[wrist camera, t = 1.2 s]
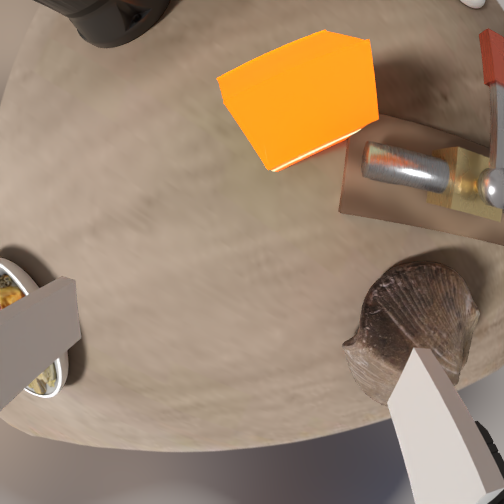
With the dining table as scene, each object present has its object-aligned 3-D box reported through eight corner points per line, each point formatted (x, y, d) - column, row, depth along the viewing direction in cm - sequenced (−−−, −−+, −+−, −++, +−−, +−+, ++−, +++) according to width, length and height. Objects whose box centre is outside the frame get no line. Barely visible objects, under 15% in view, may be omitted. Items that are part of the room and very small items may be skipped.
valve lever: (475, 32, 17) (484, 26, 15) (500, 46, 16) (510, 41, 14) (475, 201, 21) (486, 204, 19) (500, 209, 21) (512, 212, 19)
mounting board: (350, 110, 31) (352, 107, 29) (515, 162, 28) (521, 162, 27) (338, 211, 34) (340, 213, 32) (504, 244, 31) (509, 247, 30)
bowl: (77, 289, 42) (46, 307, 34) (79, 407, 50) (61, 429, 42) (-17, 232, 43) (-44, 241, 36) (-6, 344, 51) (-26, 358, 44)
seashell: (508, 293, 25) (475, 399, 18) (451, 362, 36) (405, 442, 29) (404, 231, 33) (339, 308, 26) (374, 312, 45) (317, 379, 38)
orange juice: (246, 115, 32) (190, 48, 13) (313, 83, 30) (333, -12, 11) (277, 173, 34) (257, 170, 14) (345, 141, 32) (409, 101, 12)
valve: (359, 134, 30) (381, 121, 21) (515, 181, 27) (558, 187, 19) (353, 187, 31) (374, 192, 23) (509, 224, 29) (551, 238, 20)
